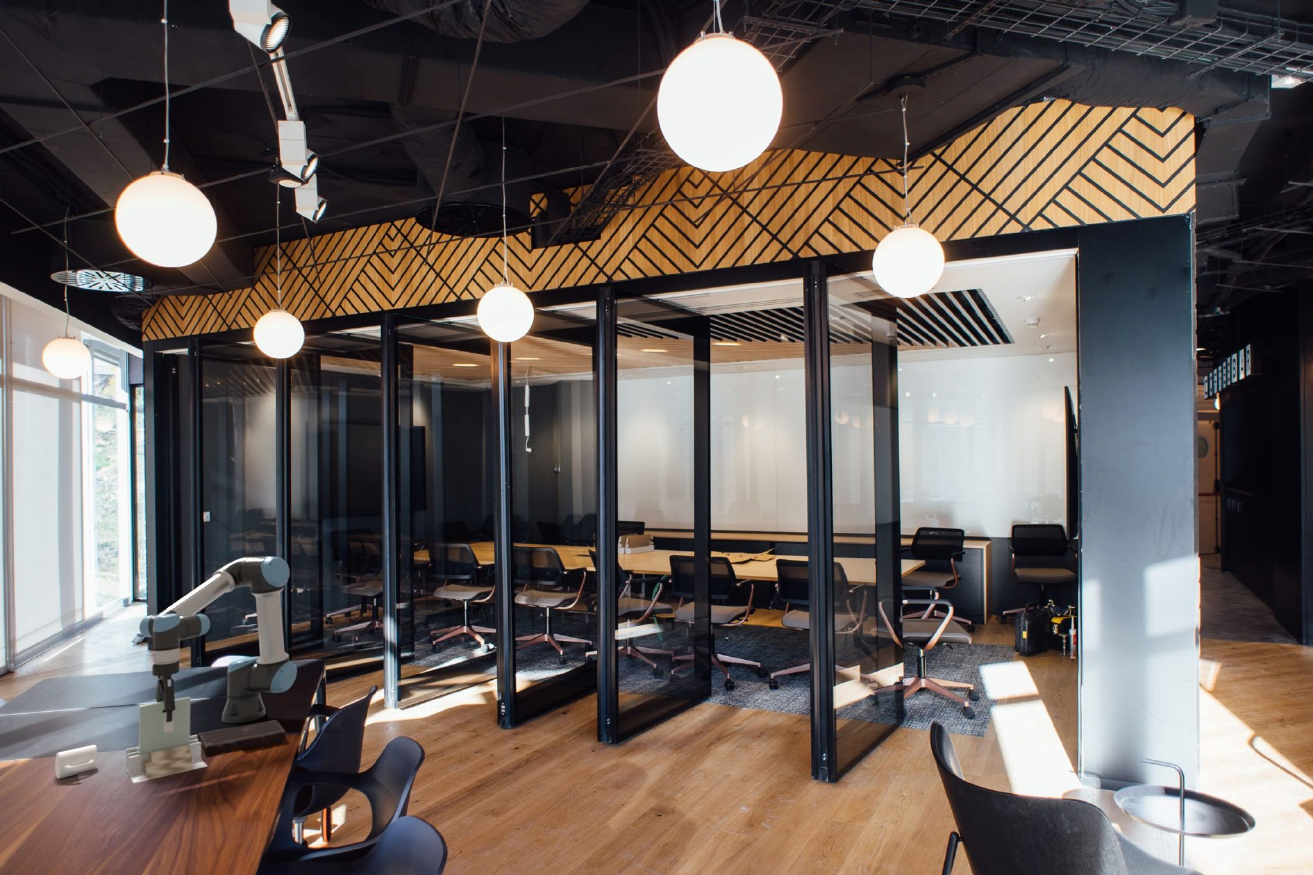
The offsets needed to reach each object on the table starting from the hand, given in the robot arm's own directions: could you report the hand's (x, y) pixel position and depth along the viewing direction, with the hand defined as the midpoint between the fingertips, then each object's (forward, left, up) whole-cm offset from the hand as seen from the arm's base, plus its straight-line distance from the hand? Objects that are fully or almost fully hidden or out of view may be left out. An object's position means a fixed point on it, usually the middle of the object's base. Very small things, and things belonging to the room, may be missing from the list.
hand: (164, 727), depth 250 cm
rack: (0, +4, -13) cm, 14 cm away
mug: (+22, -12, -13) cm, 28 cm away
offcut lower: (0, +8, -12) cm, 14 cm away
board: (0, 0, -12) cm, 12 cm away
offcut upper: (-1, +8, -9) cm, 12 cm away
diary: (-25, -6, -14) cm, 29 cm away
